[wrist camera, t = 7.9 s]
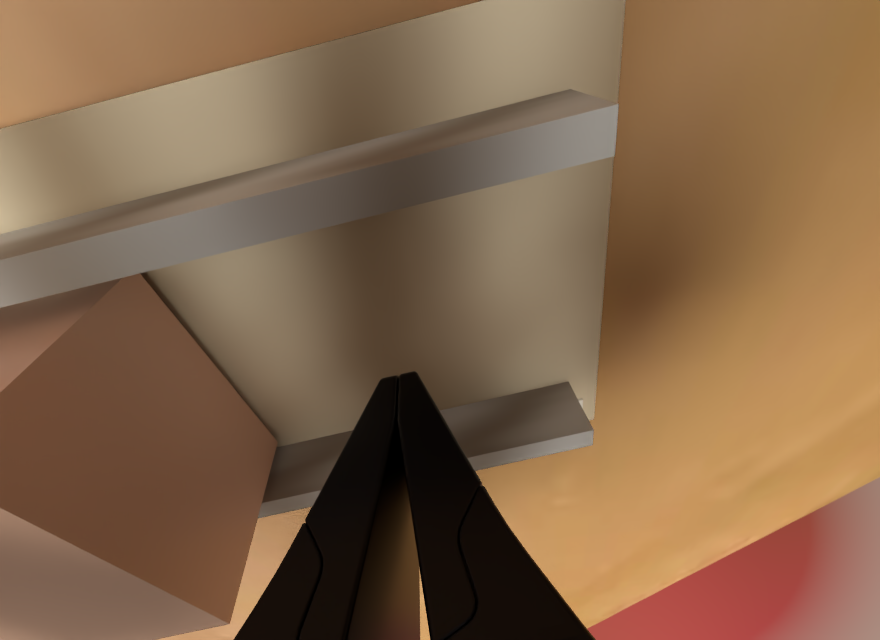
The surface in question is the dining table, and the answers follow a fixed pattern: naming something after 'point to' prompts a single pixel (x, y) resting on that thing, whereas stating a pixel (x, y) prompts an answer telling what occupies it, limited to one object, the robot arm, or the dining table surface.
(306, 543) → the robot arm
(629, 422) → the dining table surface
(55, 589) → the block
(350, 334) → the base
